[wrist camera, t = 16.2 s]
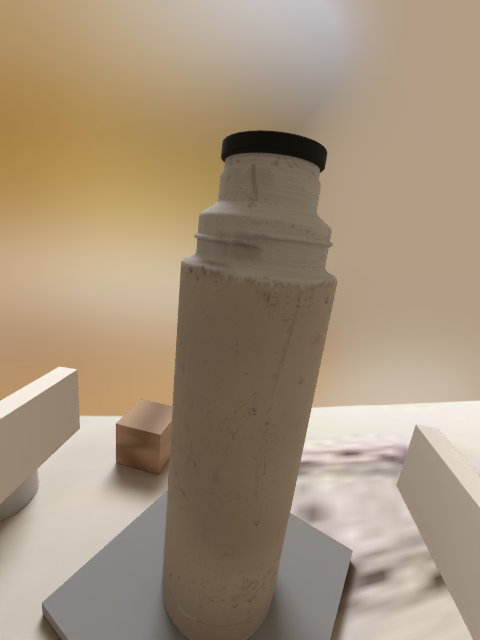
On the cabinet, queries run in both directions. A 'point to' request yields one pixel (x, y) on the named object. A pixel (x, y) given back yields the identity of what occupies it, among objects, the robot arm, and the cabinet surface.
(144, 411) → the walnut block
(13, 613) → the cabinet surface
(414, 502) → the robot arm
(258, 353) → the thermos bottle
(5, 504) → the grey rounded cylinder
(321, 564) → the gray mat
